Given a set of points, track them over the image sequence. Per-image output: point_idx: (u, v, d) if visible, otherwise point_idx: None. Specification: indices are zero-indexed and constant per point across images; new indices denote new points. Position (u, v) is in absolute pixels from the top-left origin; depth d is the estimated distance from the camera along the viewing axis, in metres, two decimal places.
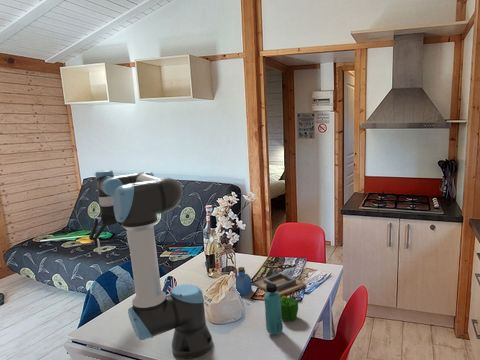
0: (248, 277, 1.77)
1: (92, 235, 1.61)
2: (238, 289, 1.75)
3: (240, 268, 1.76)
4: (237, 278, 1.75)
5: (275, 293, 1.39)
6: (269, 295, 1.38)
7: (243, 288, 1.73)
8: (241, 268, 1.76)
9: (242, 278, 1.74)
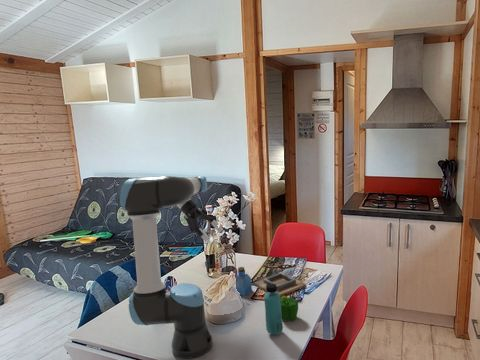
0: (248, 277, 1.77)
1: (193, 225, 1.72)
2: (238, 289, 1.75)
3: (240, 268, 1.76)
4: (237, 278, 1.75)
5: (275, 293, 1.39)
6: (269, 295, 1.38)
7: (243, 288, 1.73)
8: (241, 268, 1.76)
9: (242, 278, 1.74)
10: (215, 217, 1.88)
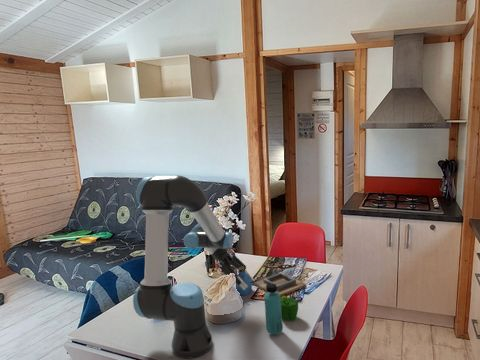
0: (248, 277, 1.77)
1: None
2: (238, 289, 1.75)
3: (240, 268, 1.76)
4: None
5: (275, 293, 1.39)
6: (269, 295, 1.38)
7: None
8: (241, 268, 1.76)
9: (242, 278, 1.74)
10: (245, 267, 1.82)
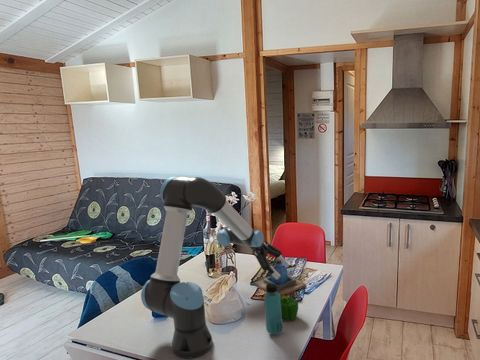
0: (285, 268, 1.80)
1: (264, 263, 1.72)
2: (275, 280, 1.78)
3: (277, 260, 1.79)
4: None
5: (275, 293, 1.39)
6: (269, 295, 1.38)
7: (281, 279, 1.76)
8: (278, 260, 1.78)
9: (279, 269, 1.76)
10: (280, 252, 1.88)
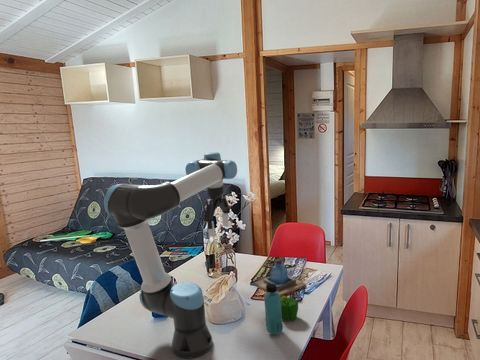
0: (285, 268, 1.80)
1: (209, 217, 1.62)
2: (275, 280, 1.78)
3: (277, 260, 1.79)
4: (274, 269, 1.78)
5: (275, 293, 1.39)
6: (269, 295, 1.38)
7: (281, 279, 1.76)
8: (278, 260, 1.78)
9: (279, 269, 1.76)
10: (229, 210, 1.78)
